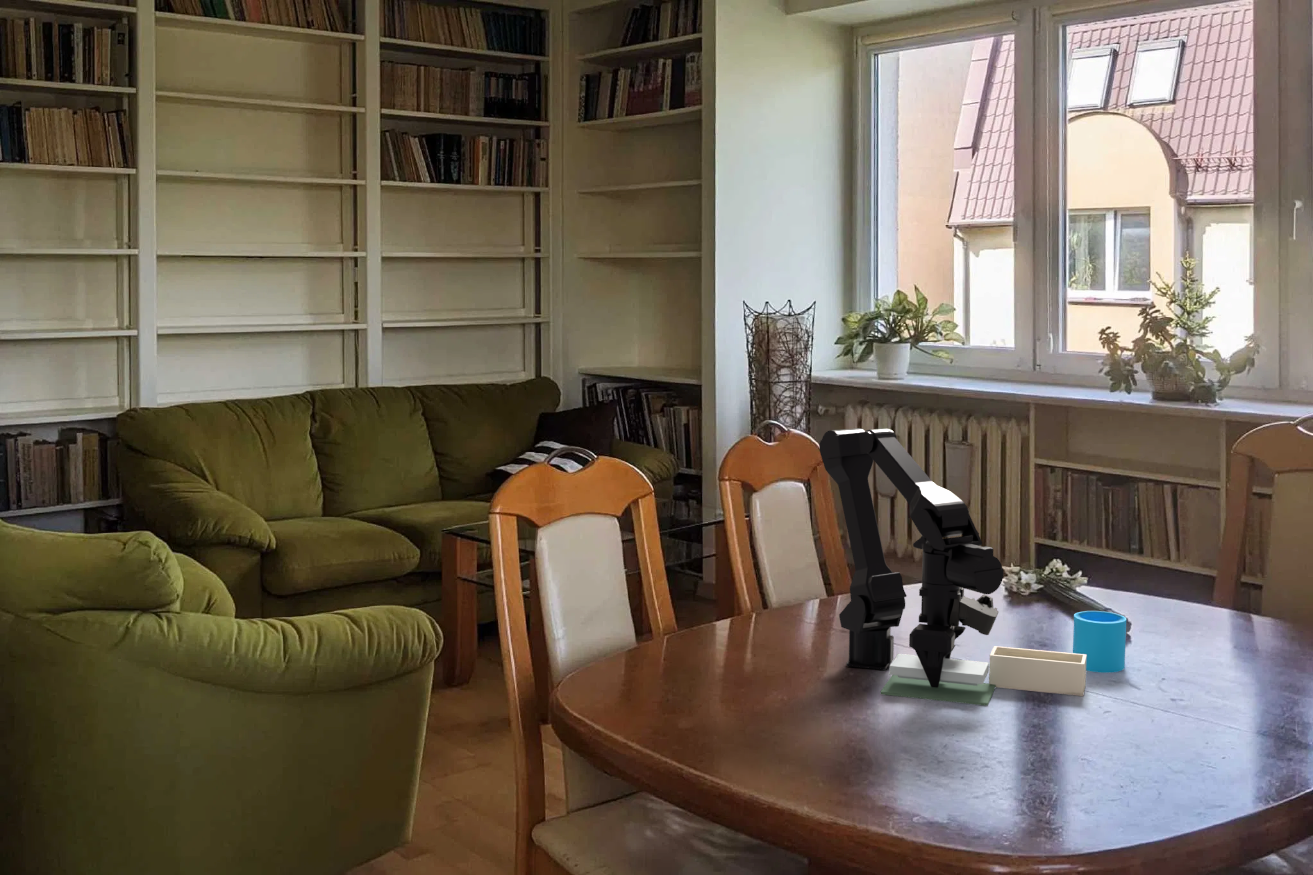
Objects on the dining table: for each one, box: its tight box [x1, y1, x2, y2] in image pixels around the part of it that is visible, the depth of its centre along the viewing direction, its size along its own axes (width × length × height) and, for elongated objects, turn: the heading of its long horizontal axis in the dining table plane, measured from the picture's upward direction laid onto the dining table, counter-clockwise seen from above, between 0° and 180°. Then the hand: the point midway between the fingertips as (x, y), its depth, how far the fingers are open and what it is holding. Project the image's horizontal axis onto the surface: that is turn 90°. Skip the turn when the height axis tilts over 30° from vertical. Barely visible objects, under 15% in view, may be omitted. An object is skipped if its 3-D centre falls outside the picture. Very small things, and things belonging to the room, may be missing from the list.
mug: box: [1072, 610, 1127, 674], centre depth 221 cm, size 12×8×8 cm
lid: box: [889, 653, 990, 686], centre depth 206 cm, size 14×7×2 cm, turn 69°
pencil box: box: [988, 645, 1087, 697], centre depth 208 cm, size 14×6×5 cm, turn 69°
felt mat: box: [880, 675, 997, 707], centre depth 207 cm, size 16×10×1 cm, turn 69°
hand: (938, 680), depth 207 cm, fingers closed on lid, 7 cm apart
